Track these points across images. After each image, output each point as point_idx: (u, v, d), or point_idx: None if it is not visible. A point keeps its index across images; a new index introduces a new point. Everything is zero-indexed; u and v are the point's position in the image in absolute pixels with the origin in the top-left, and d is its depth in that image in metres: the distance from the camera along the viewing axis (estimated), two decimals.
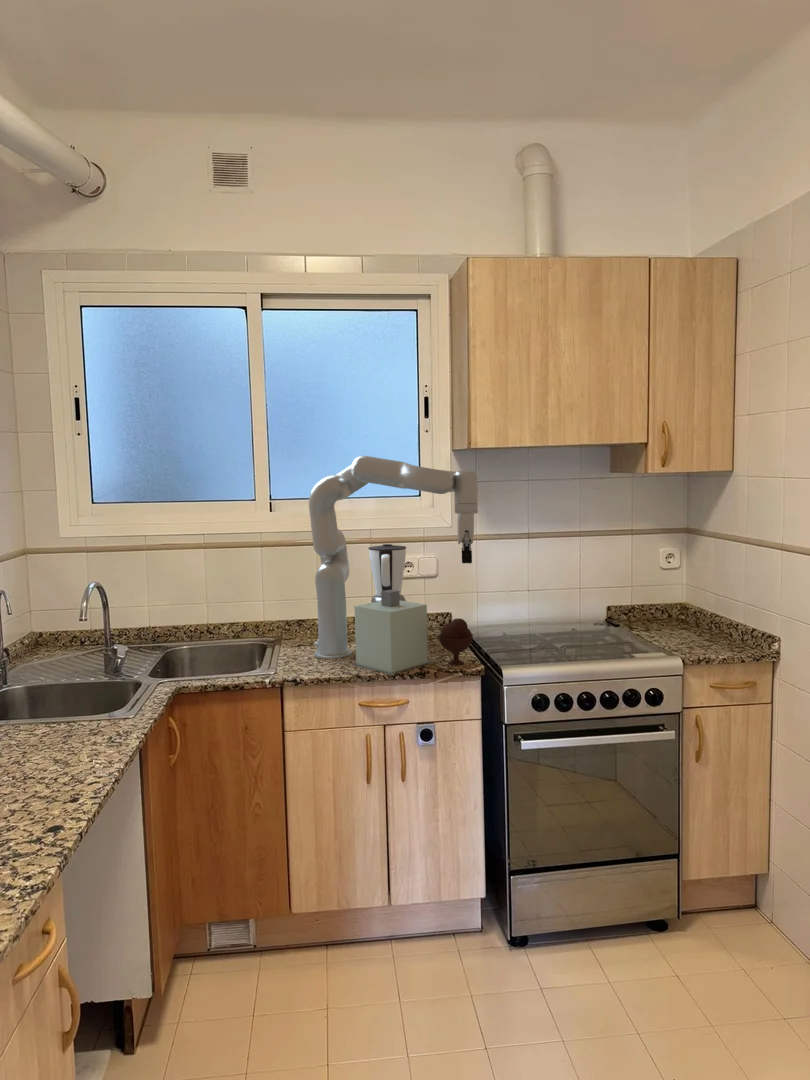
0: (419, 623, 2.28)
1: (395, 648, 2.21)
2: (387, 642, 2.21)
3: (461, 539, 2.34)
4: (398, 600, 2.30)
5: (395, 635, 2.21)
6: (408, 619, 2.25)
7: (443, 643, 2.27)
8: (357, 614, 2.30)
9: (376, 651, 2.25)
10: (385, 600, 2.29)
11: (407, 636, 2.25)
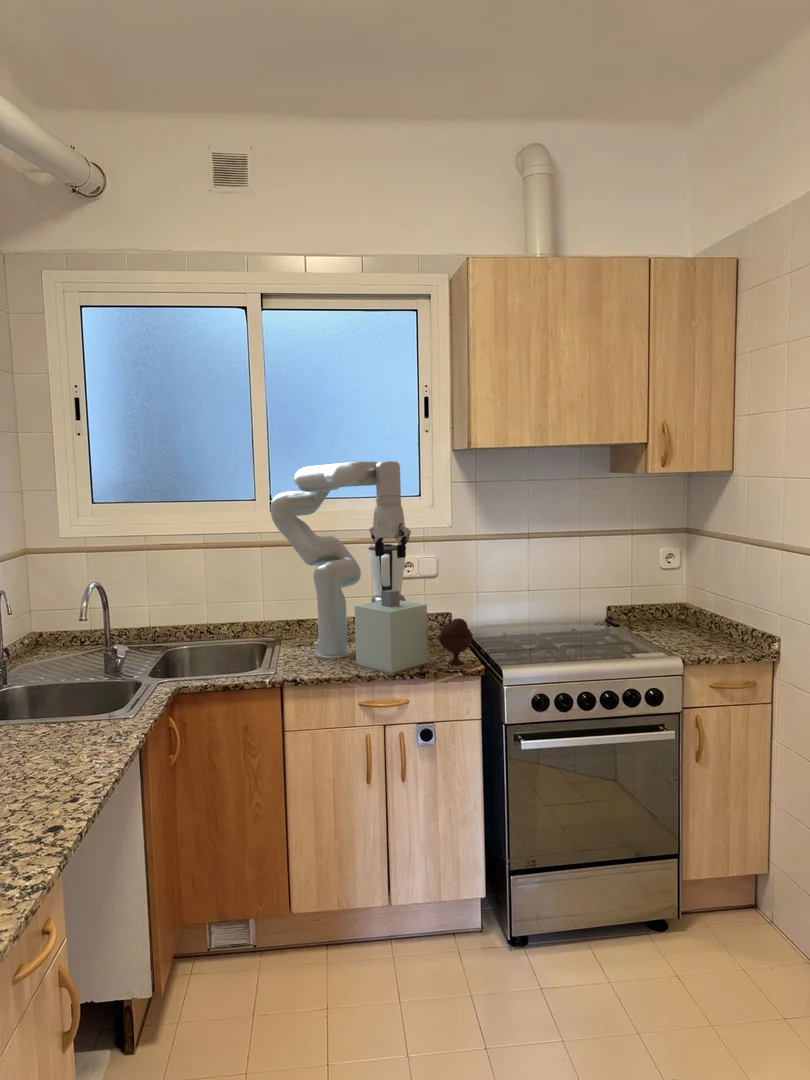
0: (419, 623, 2.28)
1: (395, 648, 2.21)
2: (387, 642, 2.21)
3: (397, 533, 2.23)
4: (398, 600, 2.30)
5: (395, 635, 2.21)
6: (408, 619, 2.25)
7: (443, 643, 2.27)
8: (357, 614, 2.30)
9: (376, 651, 2.25)
10: (385, 600, 2.29)
11: (407, 636, 2.25)
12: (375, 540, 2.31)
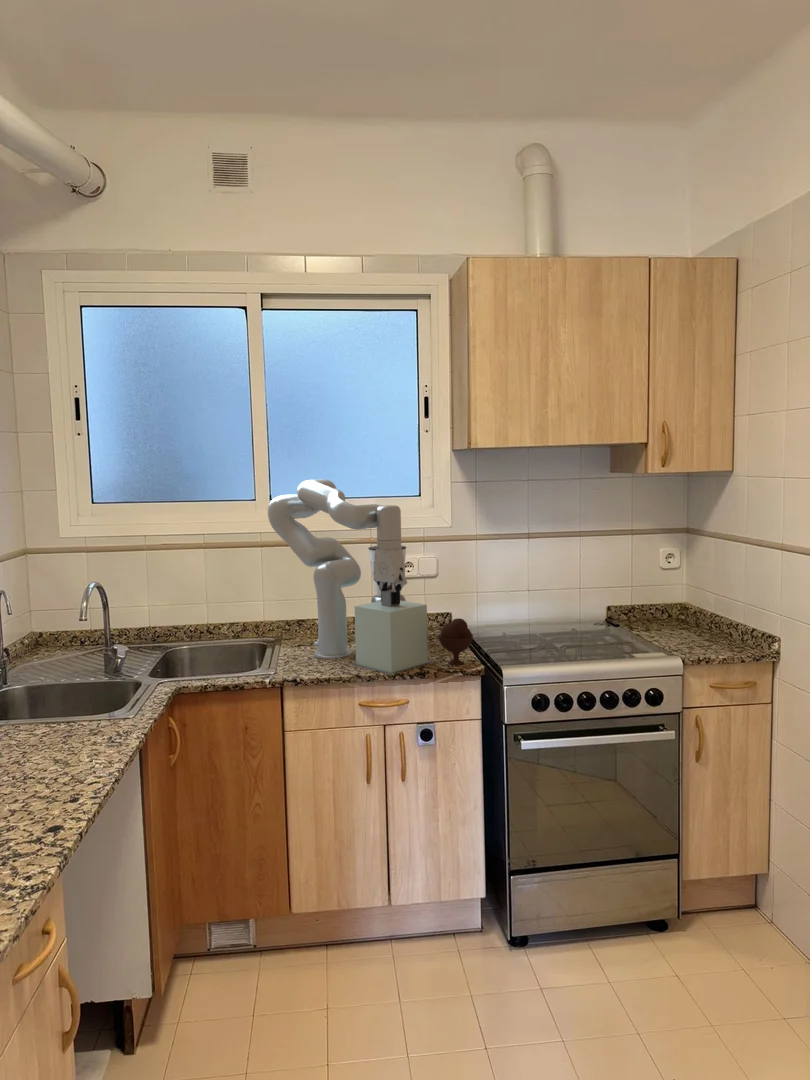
0: (419, 623, 2.28)
1: (395, 648, 2.21)
2: (387, 642, 2.21)
3: (397, 577, 2.25)
4: None
5: (395, 635, 2.21)
6: (408, 619, 2.25)
7: (443, 643, 2.27)
8: (357, 614, 2.30)
9: (376, 651, 2.25)
10: (385, 600, 2.29)
11: (407, 636, 2.25)
12: (380, 587, 2.31)
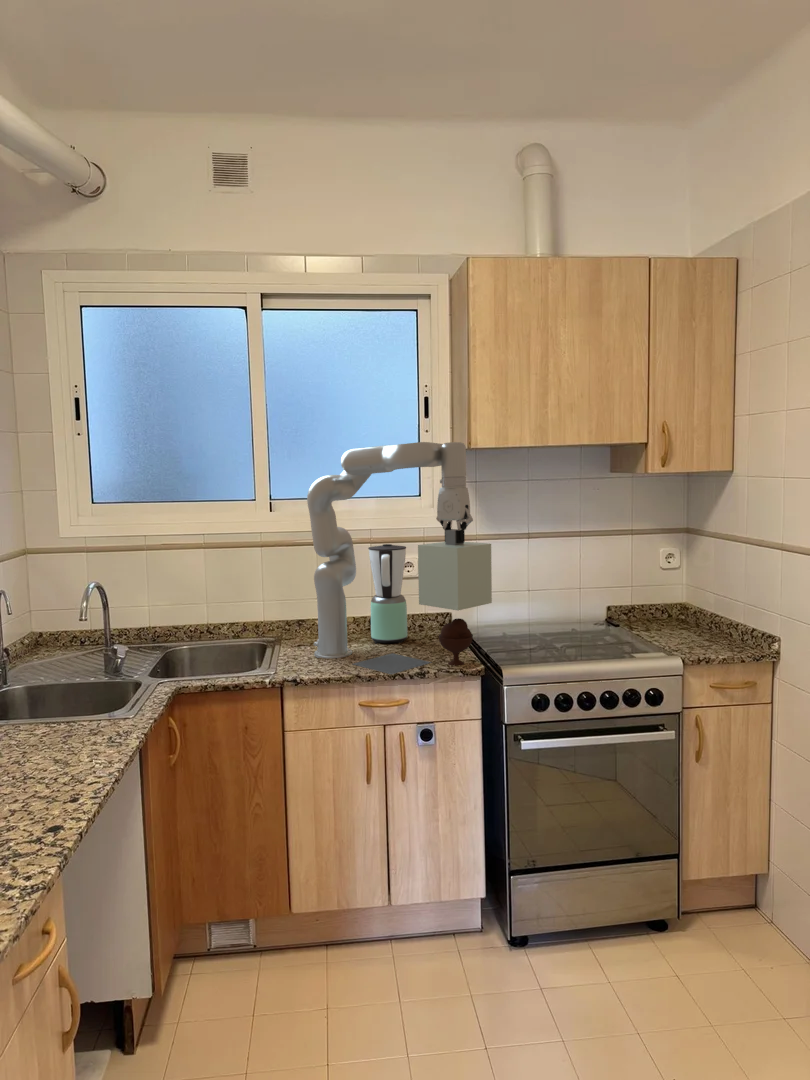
0: (484, 562, 2.25)
1: (462, 585, 2.18)
2: (454, 579, 2.17)
3: (463, 514, 2.21)
4: None
5: (462, 572, 2.18)
6: (473, 556, 2.21)
7: (443, 643, 2.27)
8: (421, 553, 2.26)
9: (441, 589, 2.21)
10: (449, 538, 2.25)
11: (472, 574, 2.21)
12: (444, 526, 2.27)
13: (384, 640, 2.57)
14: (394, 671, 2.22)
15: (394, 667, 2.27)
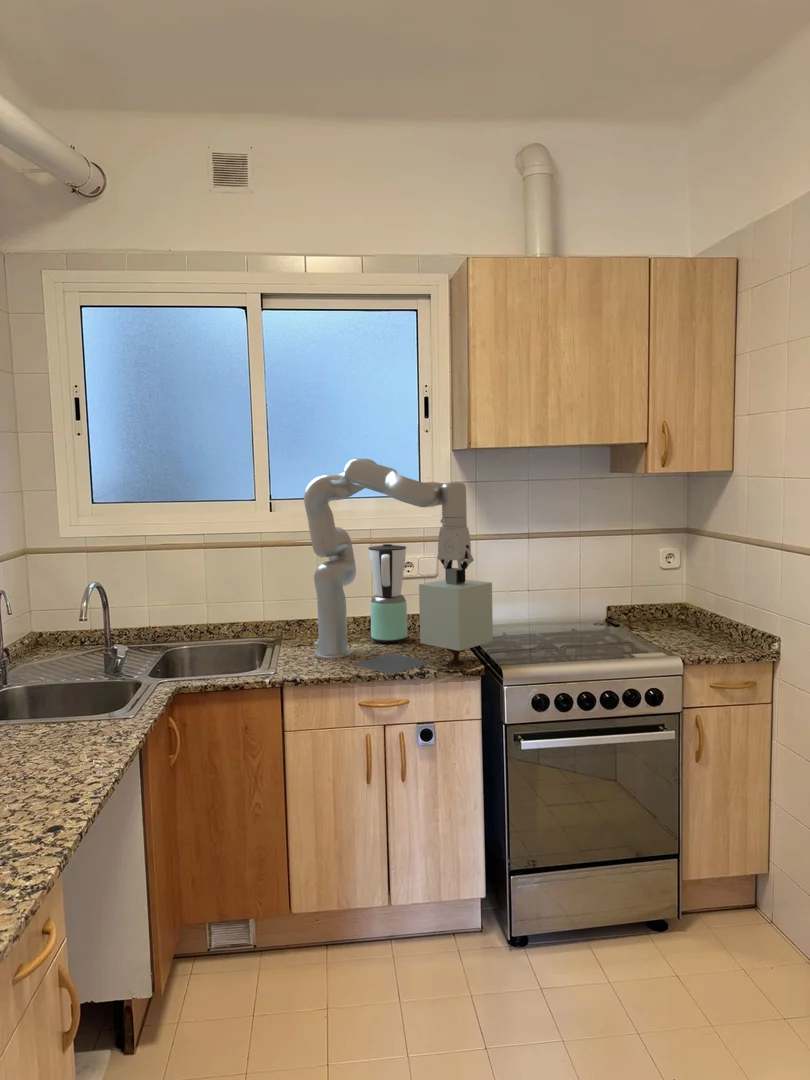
0: (485, 601, 2.26)
1: (463, 626, 2.19)
2: (455, 620, 2.18)
3: (464, 554, 2.22)
4: None
5: (463, 613, 2.19)
6: (474, 596, 2.22)
7: None
8: (422, 593, 2.27)
9: (443, 629, 2.22)
10: (450, 578, 2.26)
11: (473, 614, 2.22)
12: (445, 565, 2.28)
13: (384, 640, 2.57)
14: (394, 671, 2.22)
15: (394, 667, 2.27)
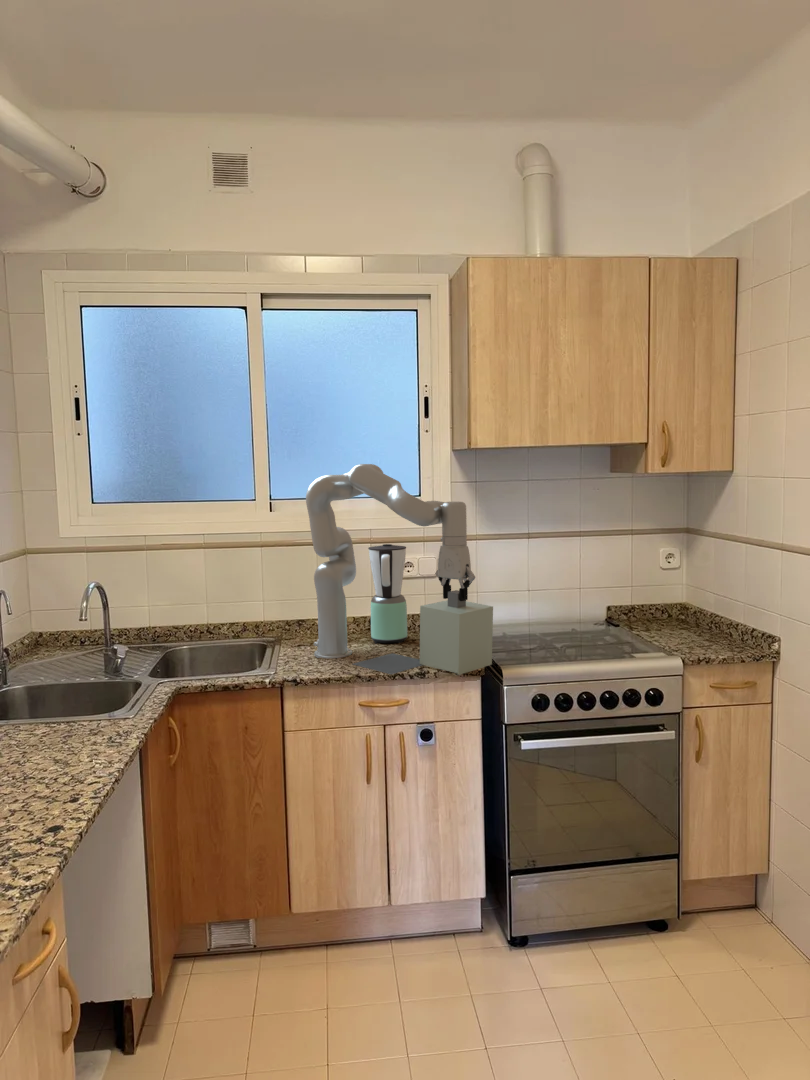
0: (485, 625, 2.26)
1: (463, 650, 2.20)
2: (455, 644, 2.19)
3: (463, 574, 2.23)
4: (464, 601, 2.28)
5: (463, 637, 2.19)
6: (475, 621, 2.23)
7: None
8: (423, 614, 2.27)
9: (442, 652, 2.23)
10: (451, 601, 2.27)
11: (474, 638, 2.23)
12: (443, 582, 2.30)
13: (384, 640, 2.57)
14: (394, 671, 2.22)
15: (394, 667, 2.27)
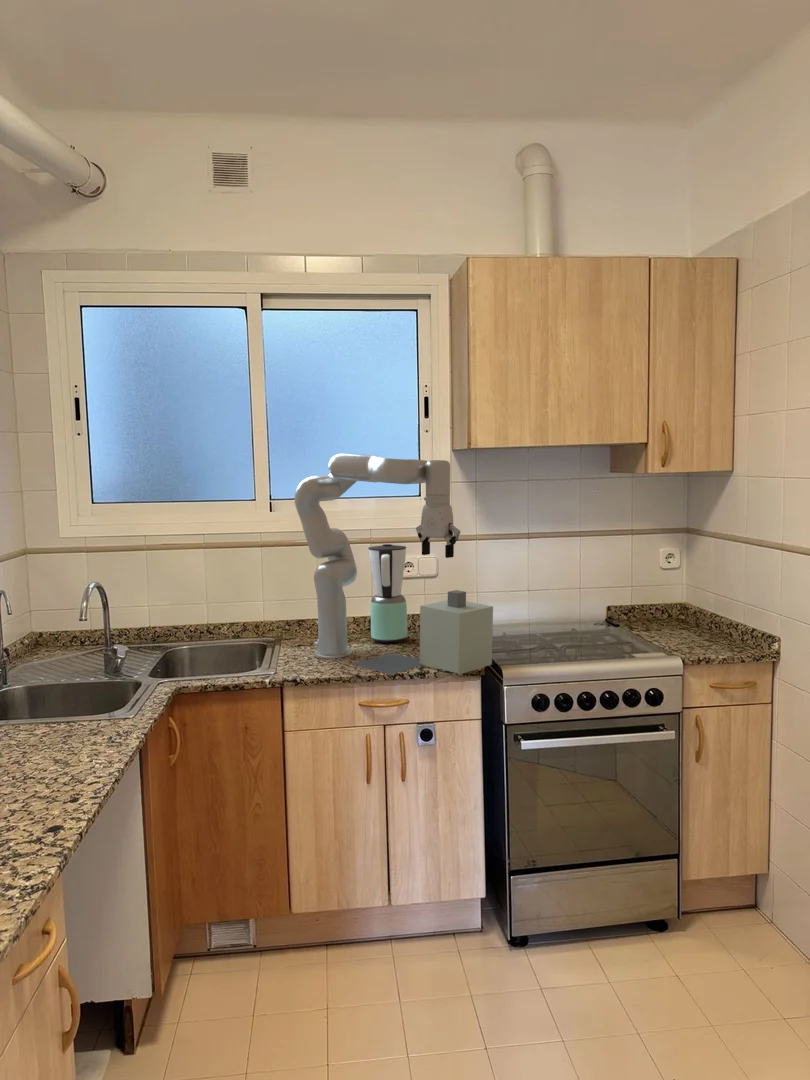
0: (485, 625, 2.26)
1: (463, 650, 2.20)
2: (455, 643, 2.19)
3: (446, 532, 2.22)
4: (464, 601, 2.28)
5: (463, 637, 2.19)
6: (475, 620, 2.23)
7: None
8: (423, 614, 2.28)
9: (442, 652, 2.23)
10: (451, 600, 2.27)
11: (474, 638, 2.23)
12: (422, 539, 2.29)
13: (384, 640, 2.57)
14: (394, 671, 2.22)
15: (394, 667, 2.27)
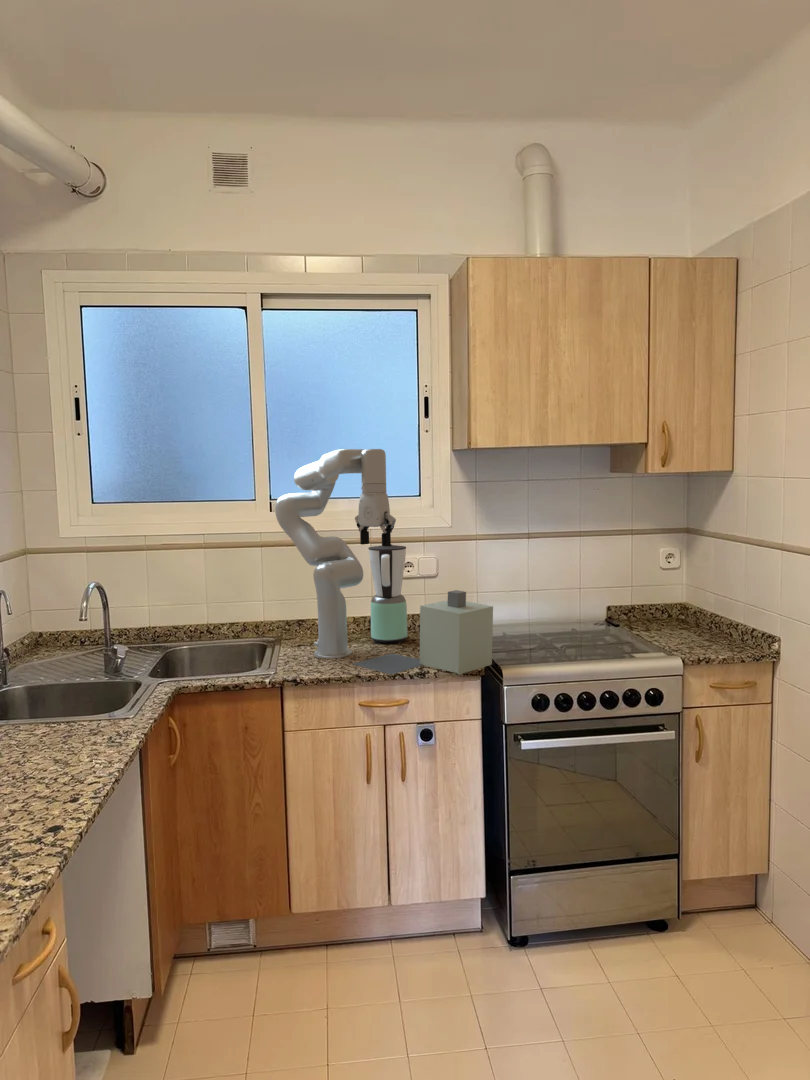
0: (485, 625, 2.26)
1: (463, 650, 2.20)
2: (455, 643, 2.19)
3: (382, 521, 2.22)
4: (464, 601, 2.28)
5: (463, 637, 2.19)
6: (475, 620, 2.23)
7: None
8: (423, 614, 2.28)
9: (442, 652, 2.23)
10: (451, 600, 2.27)
11: (474, 638, 2.23)
12: (360, 528, 2.29)
13: (384, 640, 2.57)
14: (394, 671, 2.22)
15: (394, 667, 2.27)
